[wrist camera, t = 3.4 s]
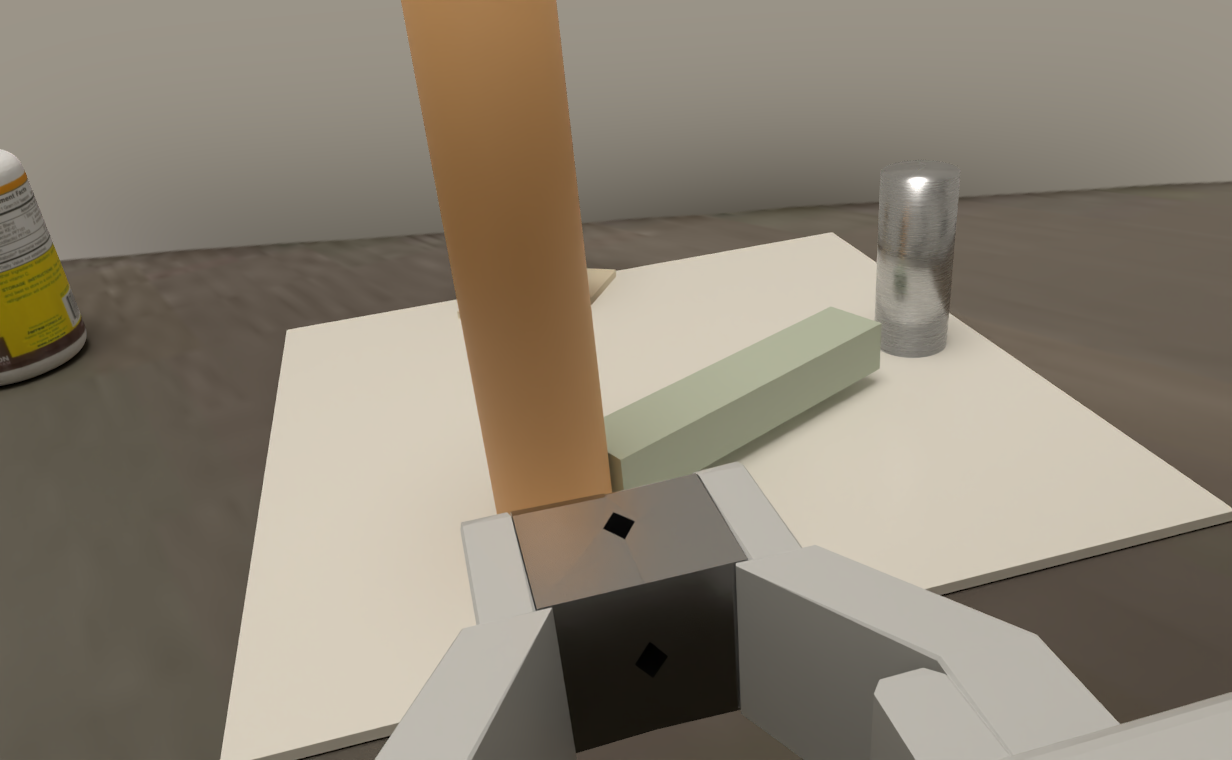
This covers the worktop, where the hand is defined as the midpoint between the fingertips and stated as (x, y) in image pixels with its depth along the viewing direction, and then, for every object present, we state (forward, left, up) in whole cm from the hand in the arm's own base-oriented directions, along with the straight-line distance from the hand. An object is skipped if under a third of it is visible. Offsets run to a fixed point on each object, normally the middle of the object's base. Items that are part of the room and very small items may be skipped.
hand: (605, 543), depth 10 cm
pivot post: (-14, -18, -9) cm, 25 cm away
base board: (-5, -18, -9) cm, 21 cm away
